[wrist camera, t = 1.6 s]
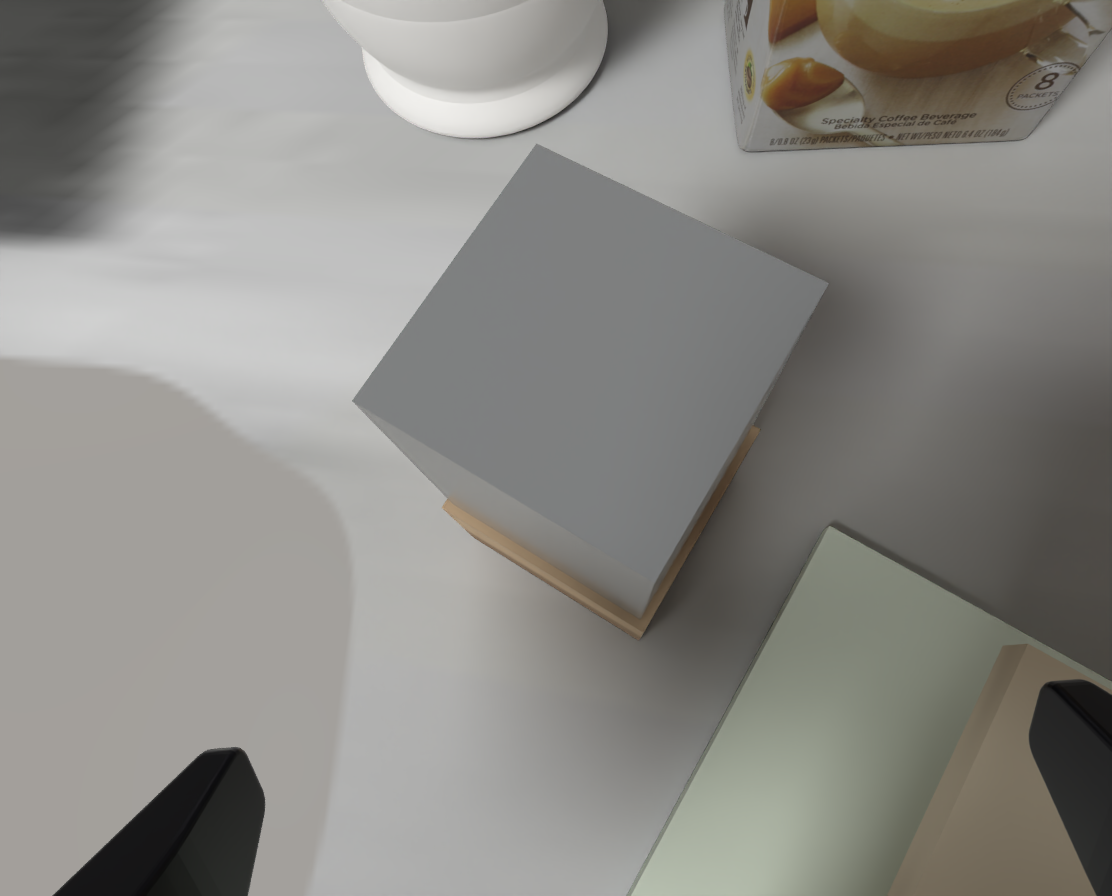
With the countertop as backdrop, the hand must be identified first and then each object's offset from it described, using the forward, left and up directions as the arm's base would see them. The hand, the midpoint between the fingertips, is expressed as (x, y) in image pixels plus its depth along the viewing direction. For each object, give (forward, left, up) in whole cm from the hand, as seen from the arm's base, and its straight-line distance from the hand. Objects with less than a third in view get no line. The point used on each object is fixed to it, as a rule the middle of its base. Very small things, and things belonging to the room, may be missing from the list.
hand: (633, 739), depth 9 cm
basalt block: (+4, +3, -8) cm, 9 cm away
